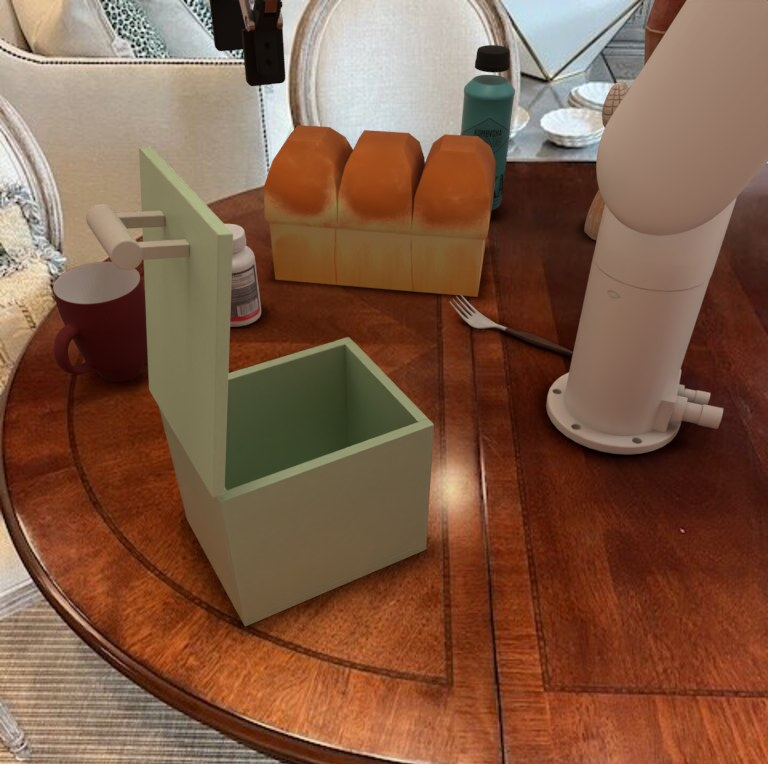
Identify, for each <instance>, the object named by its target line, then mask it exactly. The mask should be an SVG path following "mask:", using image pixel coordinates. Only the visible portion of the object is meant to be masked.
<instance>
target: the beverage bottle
mask: <svg viewBox="0 0 768 764" xmlns="http://www.w3.org/2000/svg"><path fill="white" fill-rule="evenodd" d="M510 51H511V50H510V49H509V48H508V47H506V46H503V45H496V44H488V45H482V46H479V47H478V48H477V50H476V56H475V60H474V61H475V62H474V69H476V70H478V71H480V72H483V73H492V74H479V75H476V76H474V77H473V78H471V79H470V81H469V82H467V83H466V84H465V85H464V87H463V100H462V101H463V103H462V105H463V106H462V112H461V113H462V115H461V124H460V125H461V126H460V134H459V135H464V136H478V137H479V138H481V139H482V140H483V141H484V142H486V143H487V144H488V145H489V146H490V147H491V150H492V152H493V155H494V158H495V160H496V170H495V189H494V196H493V203H492V209H491V211H494V210H496V209H498V208H499V207H500V206H501V203H502V201H503V200H504V199H503V197H504V192H505V190H504V186H505V184H506V182H505V178H506V175H507V174H506V168H507V165H508V163H507V161H508V159H509V157H508V156H509V153H510V152H509V149H510V147H509V142H510V138H511V137H512V136H511V126H512V125H511V124H512V116H513V107H514V99H515V98H514V97H515V94H516V89H515V87H514V86H513V84H511V83H512V82H510V81H509V80H508V78H507V77H505V76H502V75H497V74H495V73H504V72H507V71H508V70H509V69H510V65H511V62H510V61H511V60H510V57H511V52H510ZM493 73H494V74H493Z"/></svg>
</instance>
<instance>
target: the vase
mask: <svg viewBox="0 0 768 764" xmlns="http://www.w3.org/2000/svg"><path fill="white" fill-rule="evenodd" d="M685 2H686V0H654V1H653V3H652V6H651V10H650V12H649V15H648V18H647V21H646V24H645V27H644V54H643V55H644V58H643V60H644V61H643V67H644V66H645V64H646V63H647V61H648V60H649V58H650V57H651V55H652V53H653V52H654V50H655V49H656V47H657V46H658V44H659V43H660V41H661V39H662V38H663V36H664V35H665V33H666V32H667V30H668V29H669V27H670V25H671V24H672V22H673V21H674V19H675V18H676V16H677V15H678V13H679V11H680V10H681V8H682V7H683V5H684V4H685ZM629 88H630V87H629V86H628V85H627V83H625V82H624V81H619V82H615V83H613V85H612V86H611V87H610V89H609V91H608V92H607V94H606V96H605V100H604V102H603V105H602V108H601V120H602V126H603V127H604V129H605V127H606V125H607V123H608V121H609V119H610V118H611V116H612V115H613V113H614V112H615V110H616V109H617V107H618V106H619V104H620V103H621V101H622V99H623V97H624V95H625V94H626V92H627V91H628V89H629ZM590 204H591V205H590V206H589V209H588V212H587V215H586V217H585V223H584V229H583V232H584V234H586V235H587V236H588V237H589V238H590V239H591V240H593V241H597V237H598V232H599V227H600V223H601V218H602V214H603V210H604V205H605V202H604V201H603V198H602V196H601V193H600V190H599V189H598V190H597V192H596V194H595V196H594V198H593V199H592V202H591V203H590Z"/></svg>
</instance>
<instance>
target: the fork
mask: <svg viewBox="0 0 768 764" xmlns="http://www.w3.org/2000/svg"><path fill="white" fill-rule="evenodd" d="M458 296H460V297H461V299H462V300H463V301H464V302H465V303H466V304H467V305H468V306H467V305H466V304H465V303H464V302H463V301H462V300H461V299H460V298H459V297H458ZM455 298H456V299H457V300H458V302H459V303H460V304H461V305H460V304H459V303H458V302H457V301H456V299H454V298H452V301H450V300H449V301H448V303H449V304H450V305H451V307H452V308H453V309H454V310H455V311H456V313H457V314H458V315H459V316H460V317H461V318H462V320H464V321H465V323H467V324H468V325H469V326H470V327H472V328H473V329H477V330H478V329H480V330H484V329H498V330H502V331H504V332H505V333H508V334H510V335H511V336H513V337H516V338H517V339H519V340H522V341H524V342H526V343H528V344H530V345H535V346H537V347H541V348H543V349H547V350H551V351H554V352H557V353H560V354H562V355H566V356H570V357H572V356H573V351H572V350H571V349H568V348H566V347H564V346H561V345H560V344H559V345H558V344H556V343H554V342H552V341H550V340H547V338H543V337H541V336H539V335H536V334H532V333H529V332H526V331H522V330H517V329H514V328H511V327H507V326H503V325H501V324H498V323H497V322H494V321H493V320H491V319H490V318H488V317H487V316H485V315H483V314H482V313H481V312H479V311H478V310H477V309H476V308H475V307H474V306H473V305H472V304H471V303H470V302H469V301H468V300H467V299H466V298H465V296H462V295H461V294H459V295H455ZM452 302H454V304H455V305H456V306H457V307H458V308H459V309H460V311H459V310H458V308H457V307H456V306H455V305H454V304H453V303H452ZM462 306H463V307H462ZM463 308H464V309H463ZM462 313H463V314H462Z"/></svg>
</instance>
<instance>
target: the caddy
mask: <svg viewBox="0 0 768 764" xmlns="http://www.w3.org/2000/svg"><path fill="white" fill-rule="evenodd" d="M158 409H159V413H160V418H161V421H162V425H163V429H164V433H165V436H166V441H167V444H168V448H169V452H170V457H171V461H172V465H173V470H174V473H175V477H176V482H177V486H178V489H179V493H180V497H181V501H182V505H183V510H184V513H185V517H186V518H185V519H186V521H187V523H188V524H189V526H190V528H191V530H192V532H193V534H194V535H195V537H196V539H197V541H198V542H199V545H200V547H201V548H202V550H203V552H204V554H205V556H206V558H207V559H208V561H209V563H210V565H211V567H212V569H213V571H214V573H215V574H216V576H217V578H218V580H219V582H220V584H221V586H222V588H223V589H224V591H225V593H226V594H227V596H228V598H229V600H230V602H231V604H232V605H233V607H234V610H235V611H236V613H237V615H238V616H239V619H240V620H241V622H242V625H243V626H244V627H248V626H250V625H253V624H255V623H258V622H260V621H261V620H264V619H267V618H269V617H271V616H273V615H276V614H278V613H280V612H283V611H285V610H288V609H290V608H293V607H294V606H295V607H296V606H297V605H299V604H302V603H304V602H306V601H309V600H311V599H313V598H316V597H319V596H320V595H324V594H326V593H328V592H330V591H332V590H335V589H337V588H340V587H342V586H344V585H347V584H348V583H352V582H353V581H356V580H359V579H360V578H363V577H365V576H367V575H370V574H372V573H375V572H376V571H377V572H378V571H380V570H381V569H384V568H386V567H389V566H390V565H393V564H396V563H398V562H400V561H403V560H405V559H407V558H410V557H412V556H414V555H417V554H419V553H421V552H425V551H426V550H427V543H428V542H427V541H428V527H429V525H428V524H429V513H430V512H429V510H430V509H429V508H430V496H431V478H432V463H433V450H434V449H433V447H434V432H435V424H434V423H433V422H432V420H431V419H429V418H428V416H427V415H425V414H424V412H422V410H421V409H420V408H419V407H418V406H417V405H416V404H415V403H414V402H413V401H412V400H411V399H410V397H408V396H407V395H406V394H405V393H404V392H403V391H402V390H401V388H399V387H398V386H397V384H396V383H394V382H393V381H392V380H391V378H390V377H389V376H388V375H387V374H386V373H385V372H384V371H383V370H382V369H381V368H380V367H379V366H378V365H377V364H376V363H375V361H373V360H372V359H371V357H369V355H367V354H366V353H365V352H364V351H363V350H362V349H361V348H360V346H359V345H358V344H357V343H356V342H354V341H353V339H351V337H349V336H347V337H344V338H340V339H337V340H334V341H330V342H327V343H324V344H321V345H316V346H313V347H311V348H308V349H303V350H301V351H297V352H294V353H290V354H288V355H284V356H281V357H277V358H275V359H270V360H267V361H265V362H261V363H258V364H254V365H251V366H248V367H243V368H240V369H237V370H235V371H232V372H229V374H228V403H227V433H226V463H225V493H224V495H222V496H218V497H212V495H211V494H210V492H209V490H208V489H207V487H206V485H205V484H204V482H203V480H202V479H201V477H200V475H199V473H198V472H197V470H196V468H195V467H194V465H193V463H192V462H191V460H190V458H189V457H188V455H187V453H186V451H185V450H184V448H183V446H182V445H181V443H180V441H179V440H178V438H177V436H176V435H175V433H174V431H173V429H172V428H171V426H170V424H169V423H168V421H167V419H166V418H165V416H164V414H163V413H162V411H161V409H160V407H159V406H158Z"/></svg>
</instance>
